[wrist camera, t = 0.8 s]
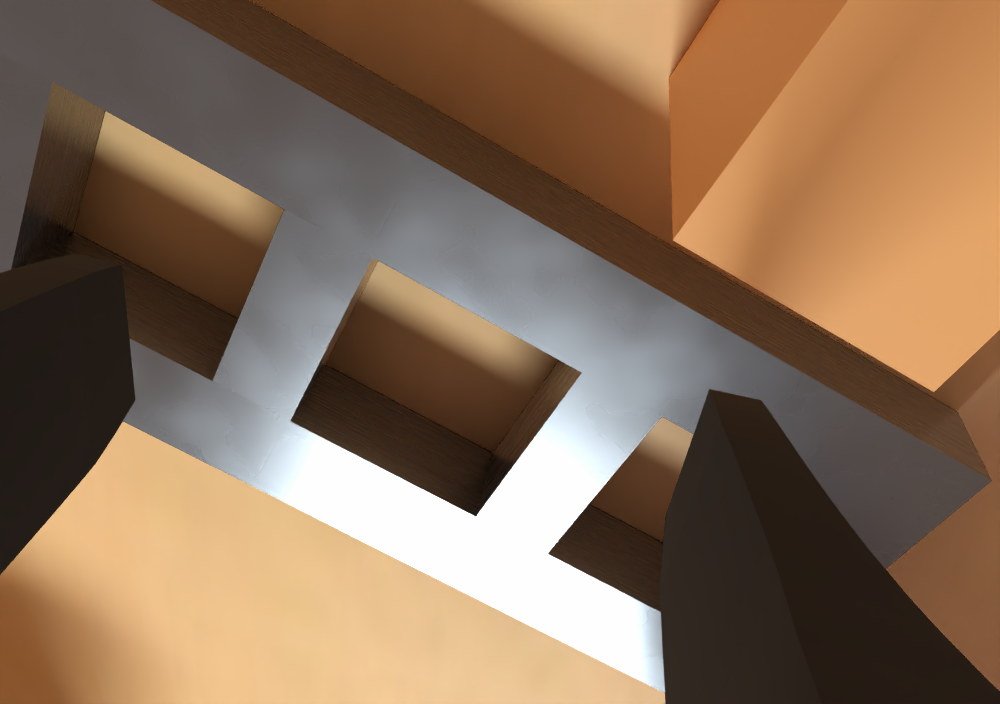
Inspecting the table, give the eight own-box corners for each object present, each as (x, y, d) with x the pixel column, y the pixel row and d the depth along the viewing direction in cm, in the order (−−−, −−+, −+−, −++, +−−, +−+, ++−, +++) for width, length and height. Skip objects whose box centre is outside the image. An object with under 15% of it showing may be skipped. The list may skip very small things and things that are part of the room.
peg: (977, -1, 16) (1210, 130, 9) (831, 178, 18) (933, 392, 11) (797, -120, 15) (902, -74, 9) (668, 78, 17) (672, 240, 11)
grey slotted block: (957, 412, 20) (991, 480, 18) (705, 641, 26) (709, 715, 23) (80, -97, 17) (0, -86, 15) (0, 278, 23) (-68, 325, 21)
